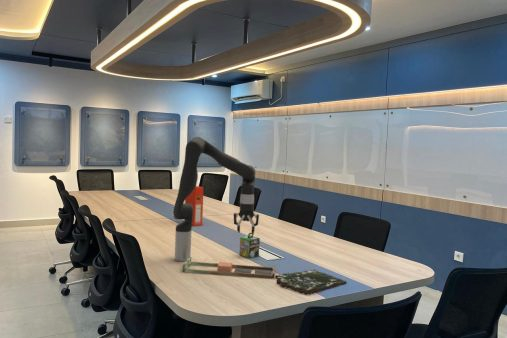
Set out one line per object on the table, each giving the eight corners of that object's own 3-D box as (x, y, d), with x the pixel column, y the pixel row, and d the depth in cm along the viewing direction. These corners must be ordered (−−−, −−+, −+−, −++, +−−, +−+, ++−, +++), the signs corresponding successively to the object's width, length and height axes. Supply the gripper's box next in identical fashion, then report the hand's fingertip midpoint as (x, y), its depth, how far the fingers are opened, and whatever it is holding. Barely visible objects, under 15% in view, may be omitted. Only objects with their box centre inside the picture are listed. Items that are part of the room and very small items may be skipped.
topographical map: (346, 284, 207) (346, 278, 207) (302, 297, 186) (303, 291, 186) (309, 270, 227) (309, 265, 226) (266, 281, 206) (266, 275, 206)
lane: (189, 264, 226) (189, 257, 226) (274, 270, 223) (275, 263, 223) (182, 272, 212) (182, 264, 212) (274, 278, 208) (274, 271, 208)
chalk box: (249, 252, 256) (250, 230, 255) (259, 256, 250) (260, 232, 249) (238, 255, 250) (239, 231, 249) (248, 258, 243) (250, 234, 242)
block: (219, 269, 221) (219, 261, 221) (231, 269, 220) (232, 262, 220) (217, 273, 214) (217, 265, 214) (230, 273, 213) (230, 266, 213)
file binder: (193, 226, 327) (195, 187, 325) (184, 222, 341) (185, 185, 339) (202, 225, 332) (203, 187, 330) (192, 221, 346) (194, 185, 344)
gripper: (260, 202, 218) (259, 232, 219) (234, 200, 219) (233, 230, 220) (259, 204, 210) (258, 235, 211) (232, 202, 211) (231, 233, 212)
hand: (245, 232), depth 215 cm, fingers open, 6 cm apart
